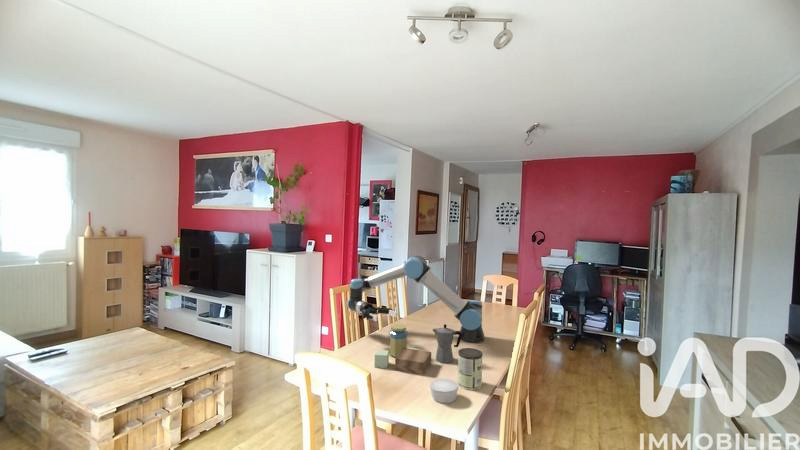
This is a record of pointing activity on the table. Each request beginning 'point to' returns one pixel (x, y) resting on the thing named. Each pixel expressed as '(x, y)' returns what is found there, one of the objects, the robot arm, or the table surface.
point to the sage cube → (381, 359)
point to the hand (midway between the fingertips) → (387, 316)
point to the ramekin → (444, 390)
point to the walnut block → (413, 361)
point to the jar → (397, 339)
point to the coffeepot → (445, 343)
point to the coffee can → (470, 368)
